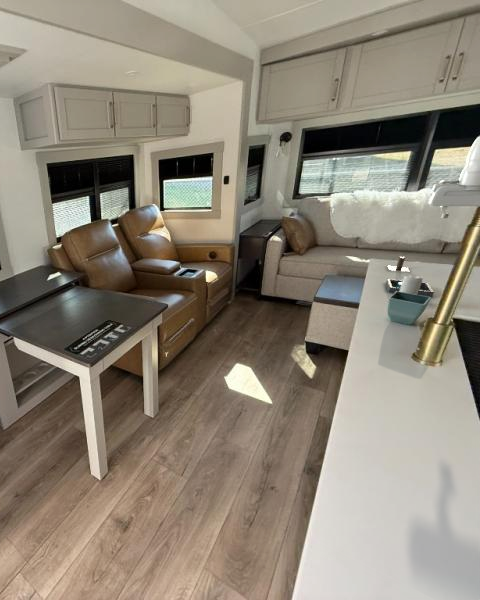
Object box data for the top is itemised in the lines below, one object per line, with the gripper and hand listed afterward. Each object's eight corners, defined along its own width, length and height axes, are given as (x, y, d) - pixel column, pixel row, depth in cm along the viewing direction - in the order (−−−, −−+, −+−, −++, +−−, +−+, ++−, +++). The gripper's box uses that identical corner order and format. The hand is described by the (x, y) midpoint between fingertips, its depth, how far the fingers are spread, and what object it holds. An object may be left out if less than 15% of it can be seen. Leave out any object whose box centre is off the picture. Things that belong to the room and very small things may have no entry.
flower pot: (380, 320, 112) (388, 297, 108) (388, 313, 116) (396, 290, 112) (415, 329, 105) (424, 304, 101) (422, 320, 109) (431, 297, 106)
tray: (426, 288, 132) (428, 282, 131) (431, 298, 124) (433, 292, 123) (385, 284, 140) (387, 278, 139) (388, 293, 131) (389, 287, 130)
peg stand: (407, 269, 154) (411, 256, 151) (409, 273, 149) (414, 260, 146) (387, 267, 158) (391, 254, 155) (388, 271, 153) (392, 258, 150)
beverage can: (391, 304, 122) (401, 275, 117) (402, 303, 122) (412, 273, 118) (404, 309, 118) (415, 279, 113) (416, 307, 118) (427, 277, 113)
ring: (416, 288, 132) (418, 282, 131) (419, 293, 127) (421, 287, 126) (395, 285, 136) (397, 280, 135) (397, 290, 131) (399, 285, 130)
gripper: (437, 181, 118) (424, 219, 123) (525, 179, 106) (507, 220, 112) (434, 180, 123) (422, 216, 128) (518, 177, 111) (501, 217, 116)
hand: (462, 218), depth 120 cm, fingers open, 8 cm apart
